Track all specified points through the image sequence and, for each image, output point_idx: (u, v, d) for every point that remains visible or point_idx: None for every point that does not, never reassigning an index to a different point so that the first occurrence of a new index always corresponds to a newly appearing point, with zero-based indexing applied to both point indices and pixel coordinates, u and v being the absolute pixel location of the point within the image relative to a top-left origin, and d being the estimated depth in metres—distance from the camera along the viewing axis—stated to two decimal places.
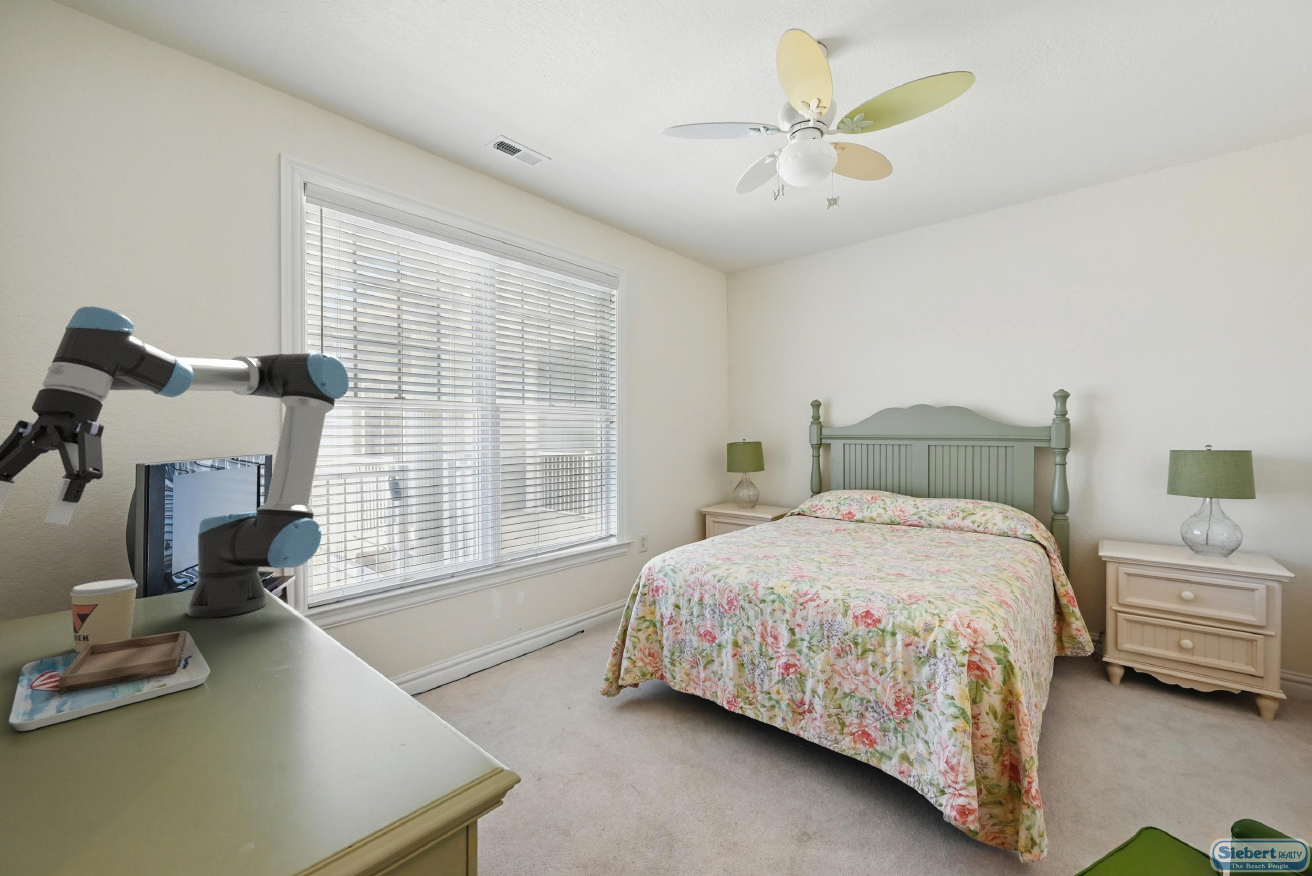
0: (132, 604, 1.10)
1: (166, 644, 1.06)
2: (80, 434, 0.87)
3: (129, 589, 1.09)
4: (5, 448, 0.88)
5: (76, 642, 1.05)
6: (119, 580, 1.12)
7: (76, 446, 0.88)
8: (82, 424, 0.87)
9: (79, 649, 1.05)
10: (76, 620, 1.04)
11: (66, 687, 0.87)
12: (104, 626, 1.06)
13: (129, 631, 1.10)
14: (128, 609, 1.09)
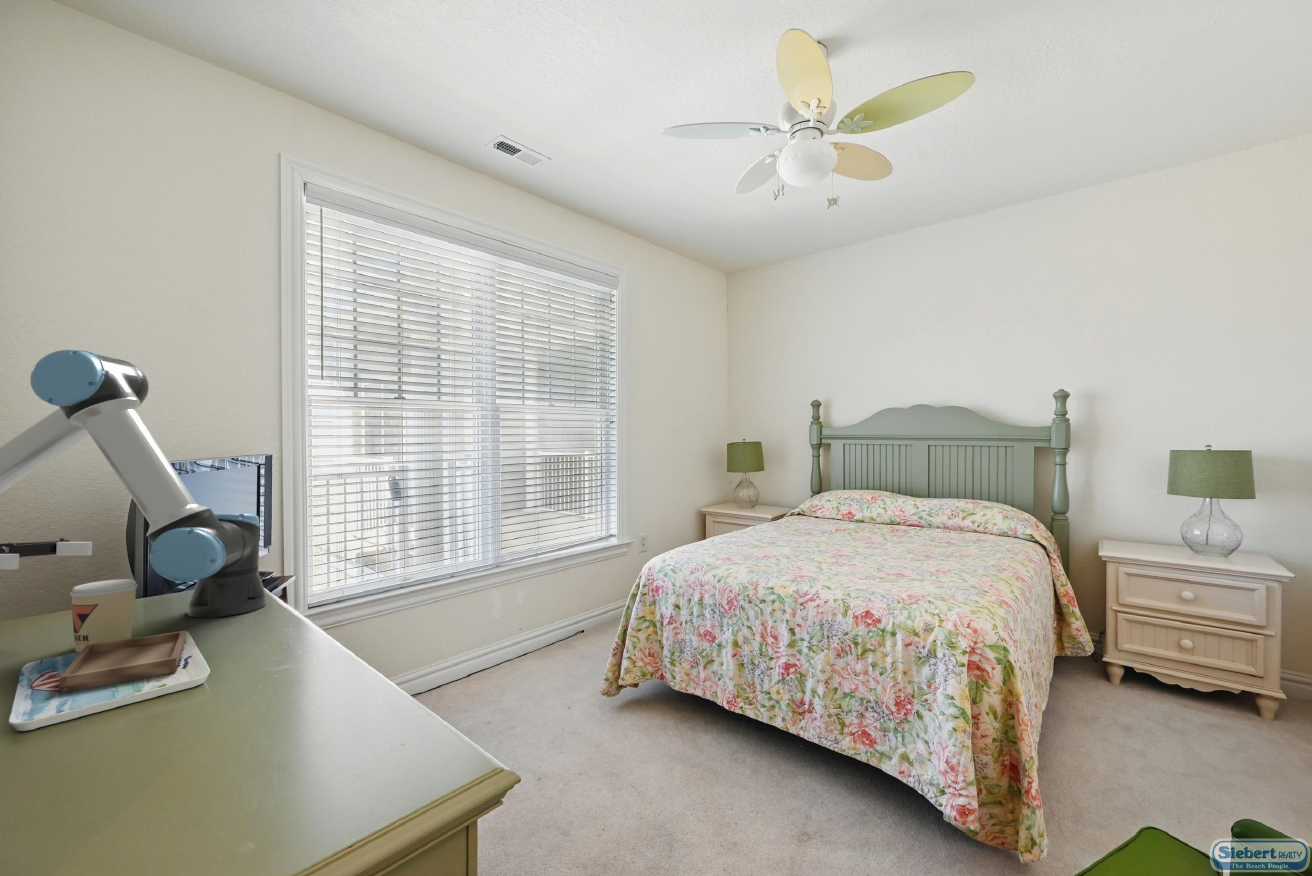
0: (132, 604, 1.10)
1: (166, 644, 1.06)
2: None
3: (129, 589, 1.09)
4: None
5: (76, 642, 1.05)
6: (119, 580, 1.12)
7: None
8: None
9: (79, 649, 1.05)
10: (76, 620, 1.04)
11: (66, 687, 0.87)
12: (104, 626, 1.06)
13: (129, 631, 1.10)
14: (128, 609, 1.09)
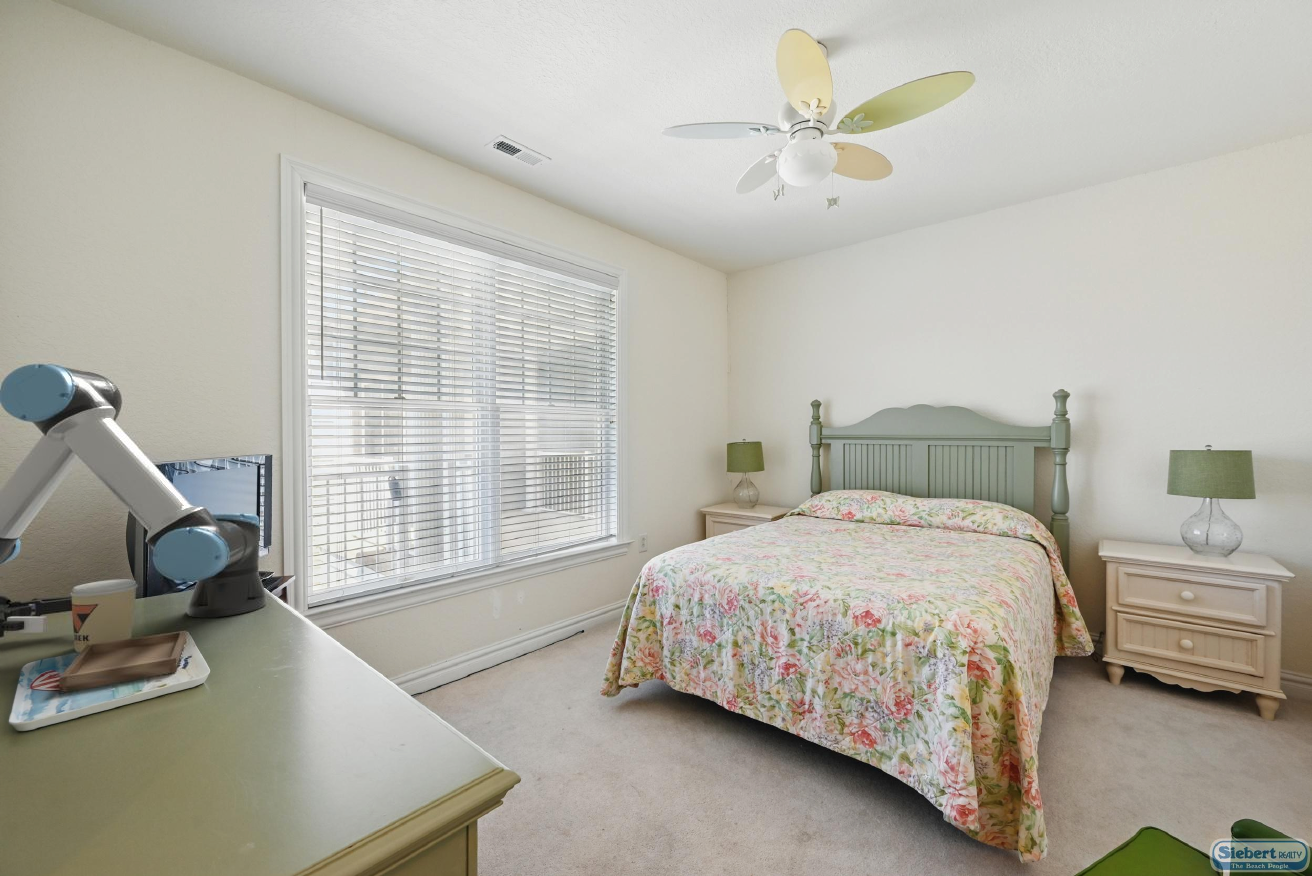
0: (132, 604, 1.10)
1: (166, 644, 1.06)
2: None
3: (129, 589, 1.09)
4: None
5: (76, 642, 1.05)
6: (119, 580, 1.12)
7: None
8: None
9: (79, 649, 1.05)
10: (76, 620, 1.04)
11: (66, 687, 0.87)
12: (104, 626, 1.06)
13: (129, 631, 1.10)
14: (128, 609, 1.09)
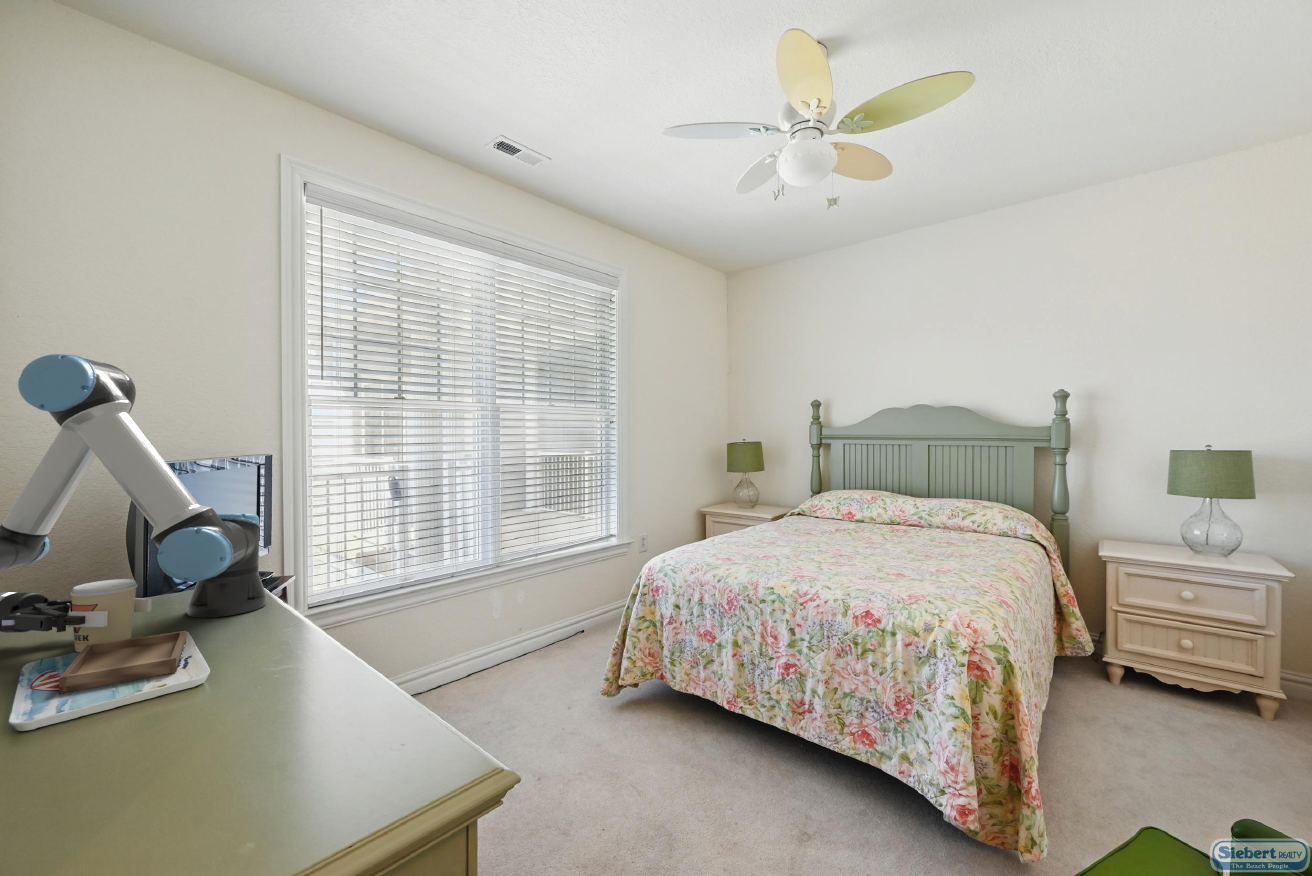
0: (132, 604, 1.10)
1: (166, 644, 1.06)
2: None
3: (129, 589, 1.09)
4: None
5: (76, 642, 1.05)
6: (119, 580, 1.12)
7: (41, 614, 1.05)
8: None
9: (79, 649, 1.05)
10: None
11: (66, 687, 0.87)
12: None
13: (129, 631, 1.10)
14: (128, 608, 1.09)
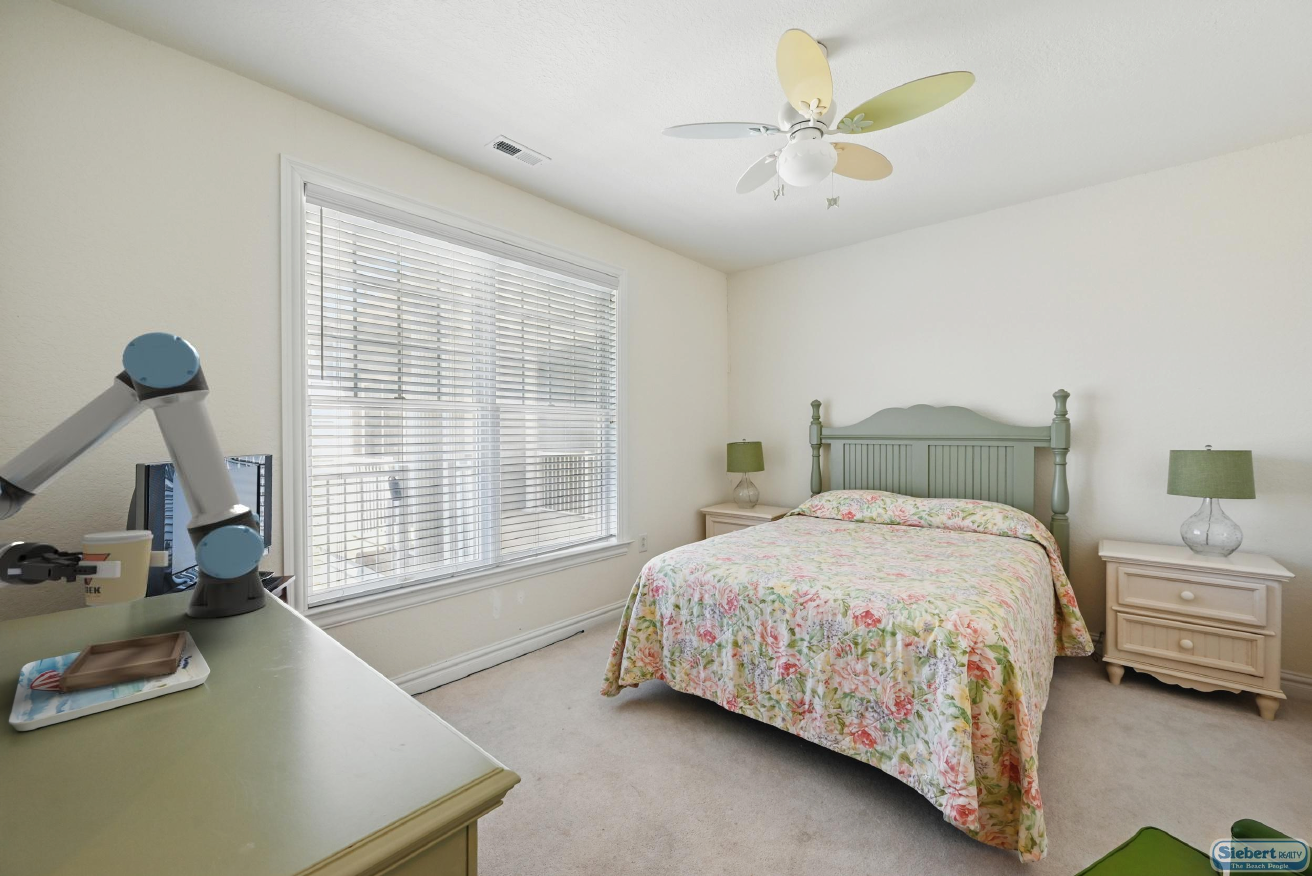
0: (147, 556, 1.01)
1: (166, 644, 1.06)
2: None
3: (144, 539, 1.00)
4: None
5: (87, 595, 0.96)
6: (134, 531, 1.03)
7: None
8: None
9: (90, 602, 0.96)
10: None
11: (66, 687, 0.87)
12: (116, 578, 0.96)
13: (144, 585, 1.01)
14: (143, 560, 1.00)
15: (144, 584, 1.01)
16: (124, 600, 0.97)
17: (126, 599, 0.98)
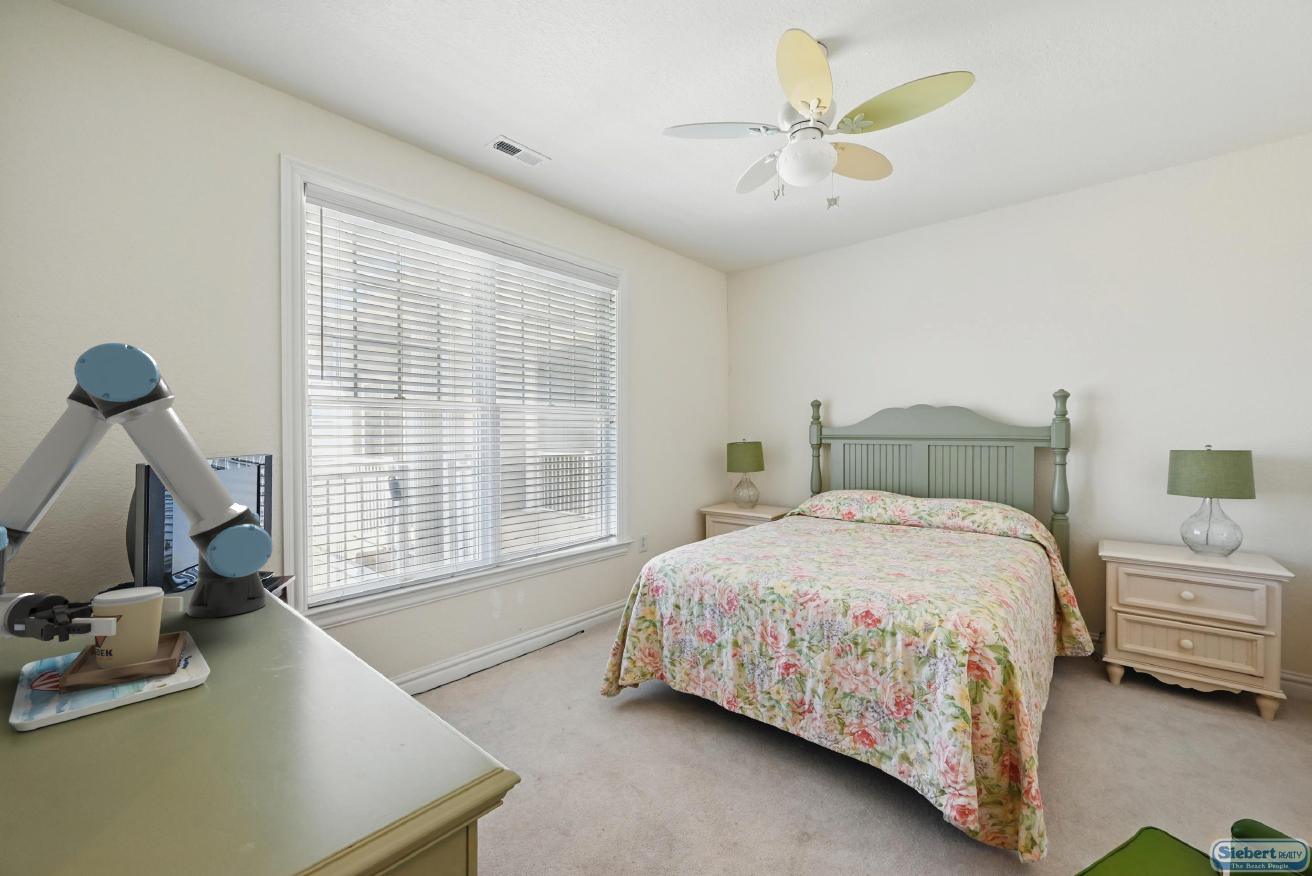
0: (159, 614, 1.00)
1: (166, 644, 1.06)
2: None
3: (155, 598, 0.98)
4: None
5: (98, 657, 0.94)
6: (144, 588, 1.02)
7: (54, 619, 0.94)
8: None
9: (101, 665, 0.94)
10: None
11: (66, 687, 0.87)
12: (129, 640, 0.95)
13: (156, 644, 0.99)
14: (154, 619, 0.99)
15: (156, 643, 0.99)
16: (136, 661, 0.96)
17: (138, 660, 0.96)
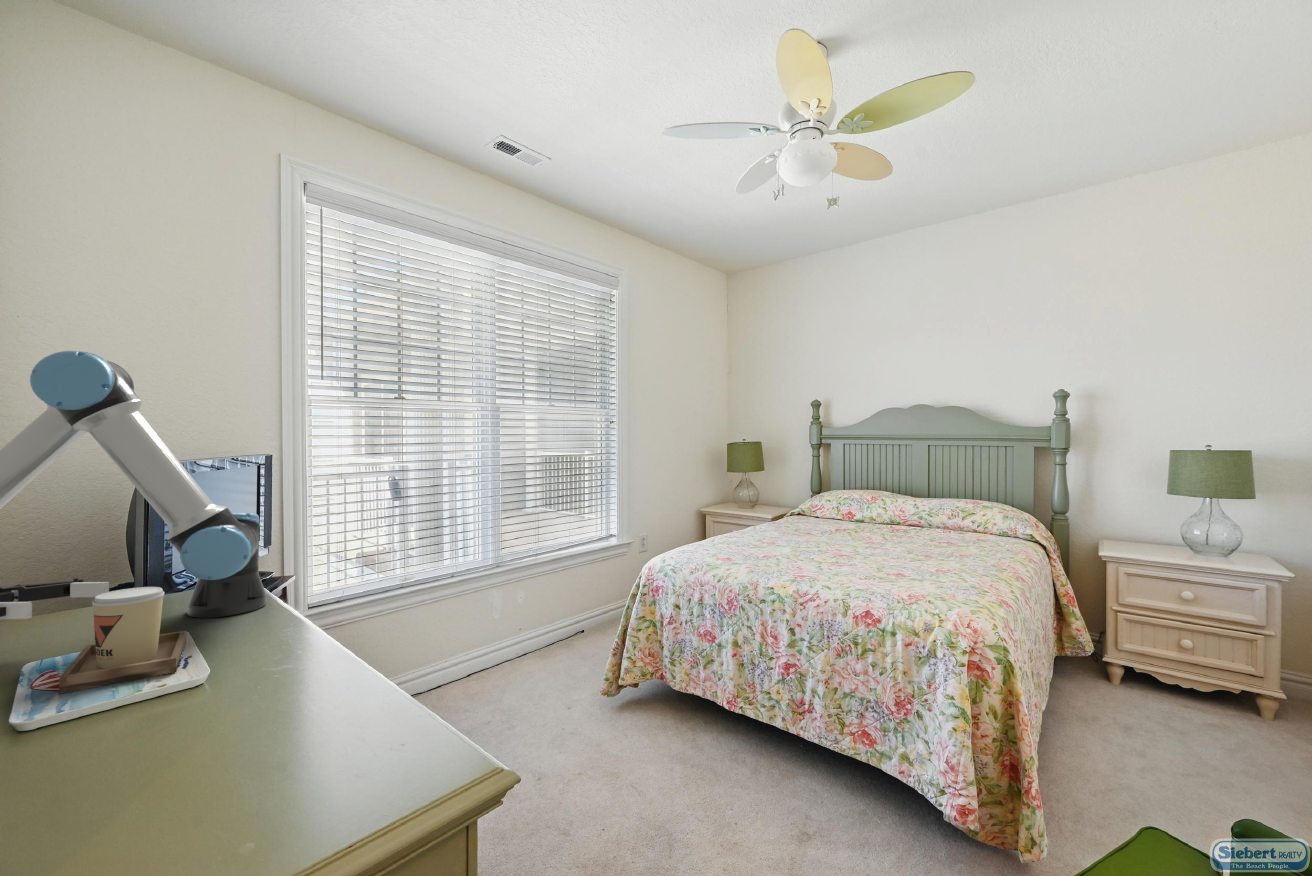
0: (159, 614, 1.00)
1: (166, 644, 1.06)
2: None
3: (156, 598, 0.99)
4: None
5: (98, 657, 0.94)
6: (144, 588, 1.02)
7: None
8: None
9: (101, 665, 0.94)
10: (99, 633, 0.94)
11: (66, 687, 0.87)
12: (129, 639, 0.95)
13: (156, 644, 0.99)
14: (155, 619, 0.99)
15: (156, 643, 0.99)
16: (136, 661, 0.96)
17: (139, 660, 0.96)
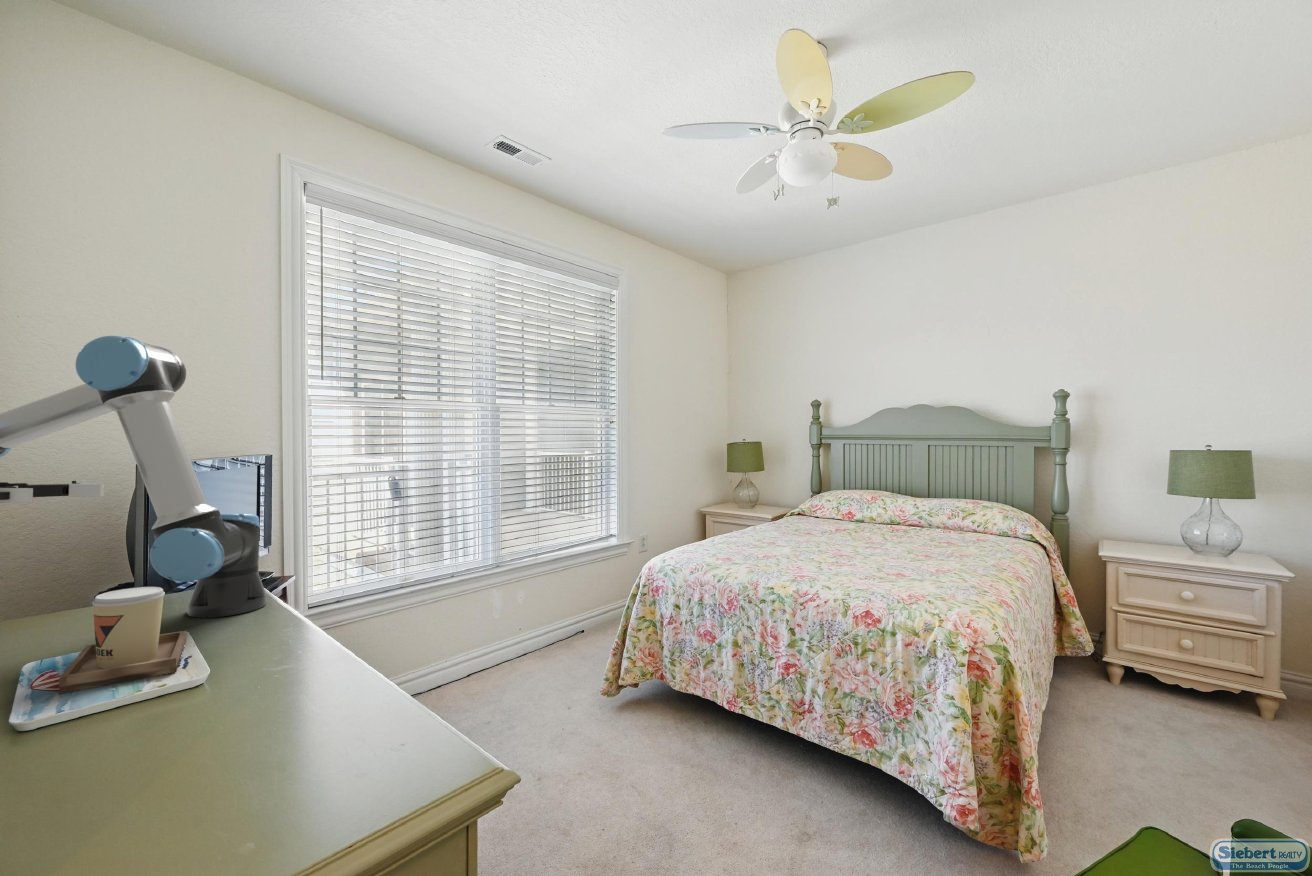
0: (159, 614, 1.00)
1: (166, 644, 1.06)
2: None
3: (156, 598, 0.99)
4: None
5: (99, 657, 0.94)
6: (144, 588, 1.02)
7: None
8: None
9: (101, 665, 0.94)
10: (99, 633, 0.94)
11: (66, 687, 0.87)
12: (129, 640, 0.95)
13: (156, 644, 0.99)
14: (155, 620, 0.99)
15: (156, 643, 0.99)
16: (137, 661, 0.96)
17: (139, 660, 0.96)
